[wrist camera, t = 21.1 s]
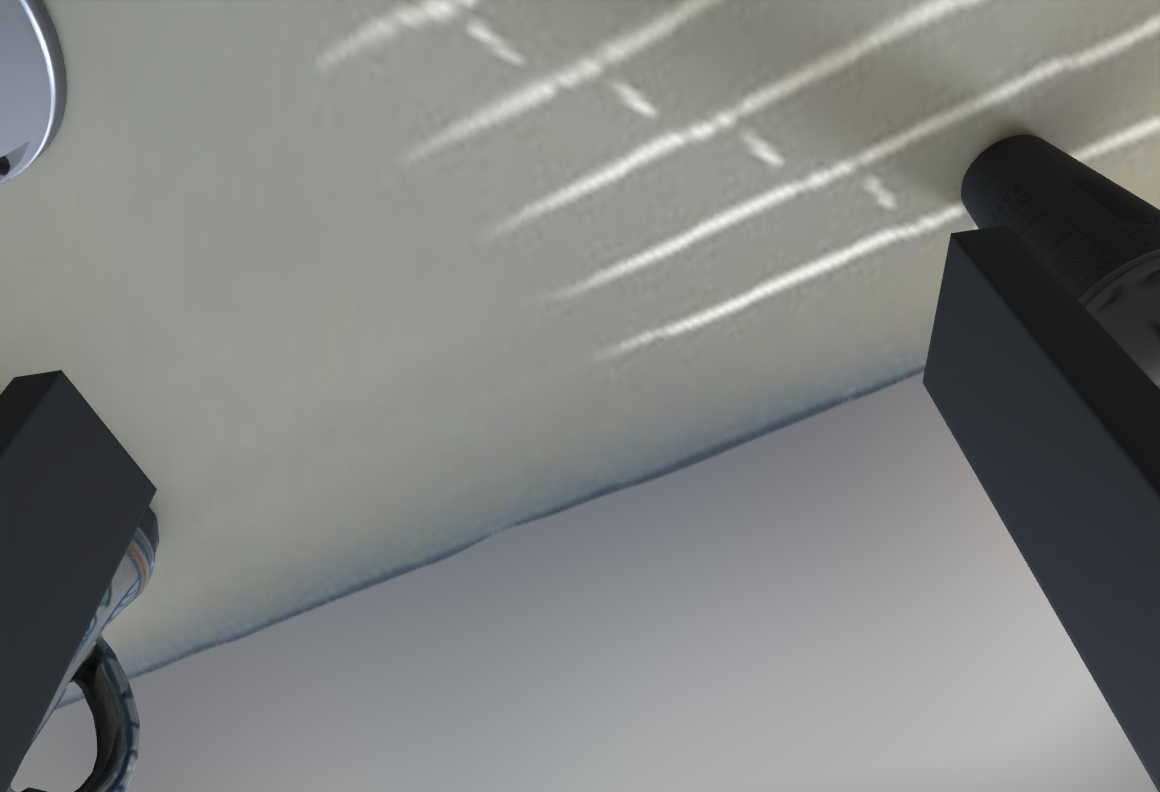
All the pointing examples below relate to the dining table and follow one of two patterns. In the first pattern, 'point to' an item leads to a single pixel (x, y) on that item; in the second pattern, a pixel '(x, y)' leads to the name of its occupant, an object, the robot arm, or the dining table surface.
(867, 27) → the dining table surface
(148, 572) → the beer stein
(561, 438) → the dining table surface
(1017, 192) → the drinking cup
